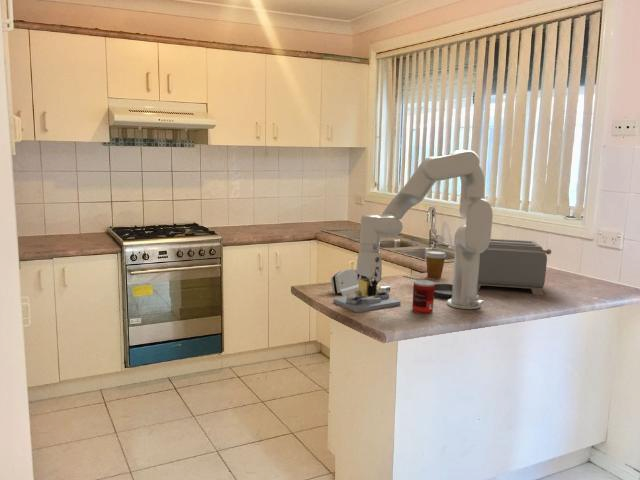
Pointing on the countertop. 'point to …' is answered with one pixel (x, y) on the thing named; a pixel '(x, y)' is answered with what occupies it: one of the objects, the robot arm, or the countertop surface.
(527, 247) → the toaster
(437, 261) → the disposable coffee cup
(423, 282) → the canned food
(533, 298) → the countertop surface
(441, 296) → the frying pan
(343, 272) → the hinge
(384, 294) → the shaft
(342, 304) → the board
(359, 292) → the shaft
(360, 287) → the coupler
